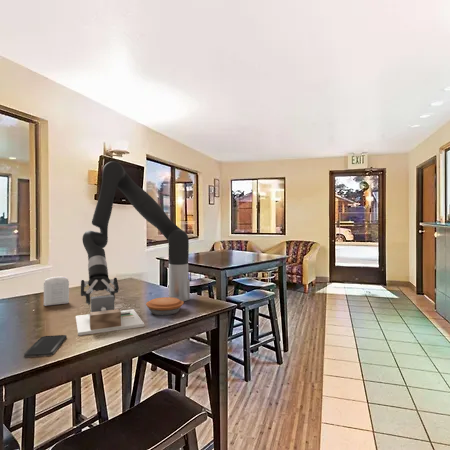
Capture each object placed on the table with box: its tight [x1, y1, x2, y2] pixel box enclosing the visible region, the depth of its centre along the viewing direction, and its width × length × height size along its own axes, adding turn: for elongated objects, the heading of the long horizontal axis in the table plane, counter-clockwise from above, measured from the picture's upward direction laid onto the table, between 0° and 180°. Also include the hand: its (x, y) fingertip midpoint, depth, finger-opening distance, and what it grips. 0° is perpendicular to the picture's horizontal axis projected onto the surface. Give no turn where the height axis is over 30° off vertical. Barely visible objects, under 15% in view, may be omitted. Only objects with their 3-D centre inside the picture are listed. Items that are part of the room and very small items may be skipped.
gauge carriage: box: [90, 294, 130, 315], centre depth 128 cm, size 14×7×8 cm, turn 115°
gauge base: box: [75, 308, 145, 336], centre depth 128 cm, size 22×21×1 cm
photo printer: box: [43, 275, 70, 307], centre depth 154 cm, size 10×4×12 cm, turn 123°
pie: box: [145, 296, 185, 316], centre depth 143 cm, size 15×16×5 cm
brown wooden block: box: [89, 308, 122, 330], centre depth 120 cm, size 10×4×5 cm, turn 115°
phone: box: [23, 334, 67, 358], centre depth 104 cm, size 8×1×15 cm
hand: (101, 302), depth 134 cm, fingers open, 8 cm apart
